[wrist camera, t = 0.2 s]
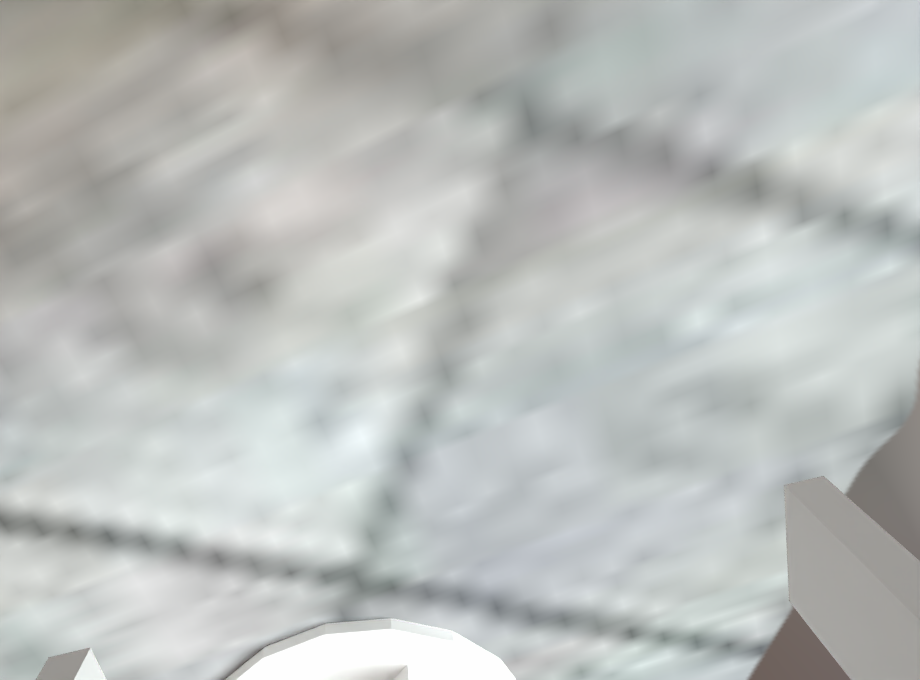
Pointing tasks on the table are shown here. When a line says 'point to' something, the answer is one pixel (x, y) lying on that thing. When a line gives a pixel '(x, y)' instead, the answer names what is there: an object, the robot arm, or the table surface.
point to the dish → (374, 655)
